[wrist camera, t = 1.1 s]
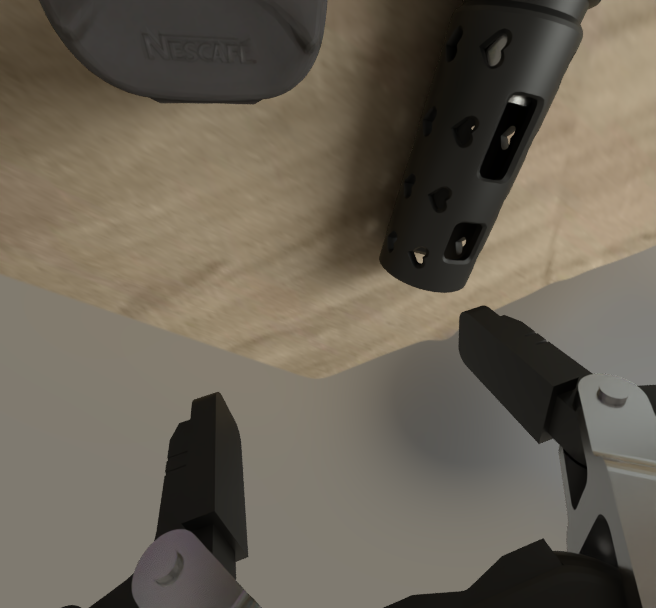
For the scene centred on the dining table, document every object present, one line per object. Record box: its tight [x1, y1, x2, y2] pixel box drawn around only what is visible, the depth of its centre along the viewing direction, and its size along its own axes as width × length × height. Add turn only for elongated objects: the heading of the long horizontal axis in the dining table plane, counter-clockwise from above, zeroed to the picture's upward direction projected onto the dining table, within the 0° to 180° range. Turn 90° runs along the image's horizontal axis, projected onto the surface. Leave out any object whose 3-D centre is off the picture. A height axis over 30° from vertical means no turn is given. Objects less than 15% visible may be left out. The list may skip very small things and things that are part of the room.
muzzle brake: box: [379, 0, 601, 293], centre depth 28 cm, size 10×28×10 cm, turn 168°
